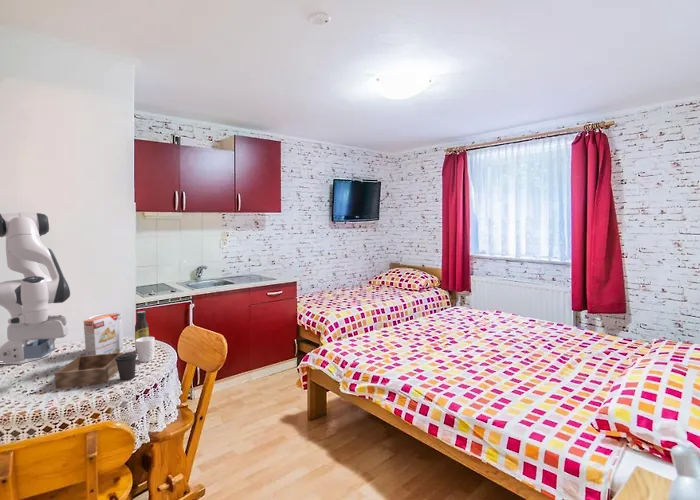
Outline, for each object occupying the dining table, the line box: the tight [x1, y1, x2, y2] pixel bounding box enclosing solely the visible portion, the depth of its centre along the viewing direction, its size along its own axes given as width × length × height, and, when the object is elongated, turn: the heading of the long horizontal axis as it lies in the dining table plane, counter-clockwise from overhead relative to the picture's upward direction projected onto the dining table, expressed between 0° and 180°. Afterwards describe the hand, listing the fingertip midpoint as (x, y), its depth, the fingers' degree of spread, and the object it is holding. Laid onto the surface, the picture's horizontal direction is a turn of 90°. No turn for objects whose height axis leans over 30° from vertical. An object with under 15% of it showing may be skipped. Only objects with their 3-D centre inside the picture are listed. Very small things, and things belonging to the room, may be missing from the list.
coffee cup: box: [115, 352, 138, 382], centre depth 160 cm, size 8×8×10 cm
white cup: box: [135, 336, 156, 363], centre depth 182 cm, size 8×8×10 cm
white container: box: [87, 312, 124, 350], centre depth 199 cm, size 15×15×18 cm
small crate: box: [23, 339, 56, 359], centre depth 158 cm, size 6×10×5 cm, turn 12°
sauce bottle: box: [134, 310, 150, 353], centre depth 195 cm, size 7×6×20 cm
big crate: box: [54, 352, 124, 389], centre depth 164 cm, size 18×20×6 cm
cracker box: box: [83, 313, 121, 356], centre depth 182 cm, size 14×6×21 cm, turn 168°
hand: (39, 349), depth 158 cm, fingers closed on small crate, 6 cm apart
